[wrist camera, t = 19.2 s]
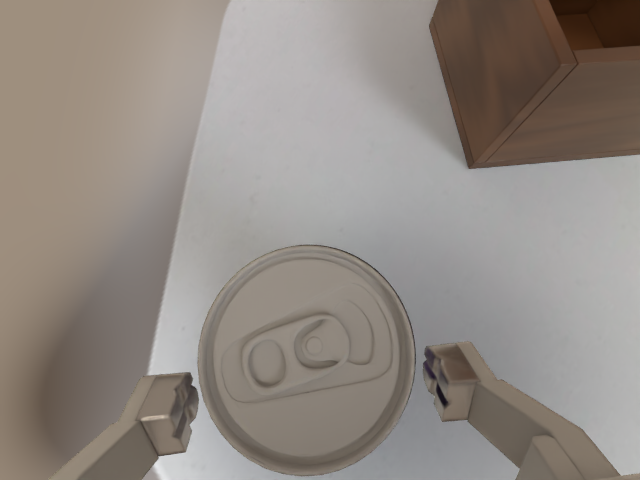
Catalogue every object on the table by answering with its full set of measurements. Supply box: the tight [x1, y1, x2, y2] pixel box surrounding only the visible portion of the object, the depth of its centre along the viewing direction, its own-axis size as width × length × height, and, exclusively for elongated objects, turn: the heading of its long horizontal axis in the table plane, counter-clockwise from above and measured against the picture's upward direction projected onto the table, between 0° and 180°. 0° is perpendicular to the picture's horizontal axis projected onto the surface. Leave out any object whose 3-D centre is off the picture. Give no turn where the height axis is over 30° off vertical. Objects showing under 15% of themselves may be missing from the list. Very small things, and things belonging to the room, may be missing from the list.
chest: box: [429, 0, 640, 169], centre depth 20 cm, size 14×14×9 cm
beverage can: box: [198, 245, 416, 476], centre depth 13 cm, size 6×6×12 cm
